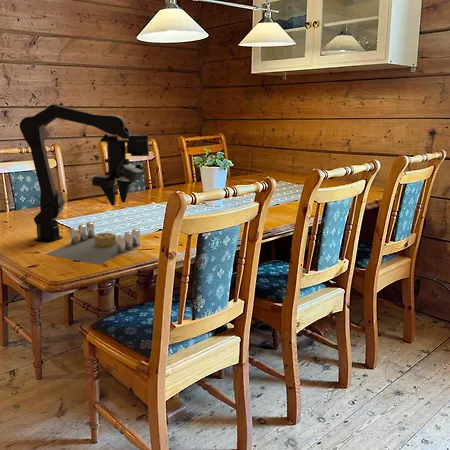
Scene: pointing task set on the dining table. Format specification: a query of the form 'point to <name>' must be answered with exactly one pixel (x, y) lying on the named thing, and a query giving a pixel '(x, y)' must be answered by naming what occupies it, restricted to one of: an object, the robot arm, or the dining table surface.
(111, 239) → the tan lobed block
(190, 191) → the dining table surface
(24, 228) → the dining table surface
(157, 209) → the dining table surface
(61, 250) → the mat
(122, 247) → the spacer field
